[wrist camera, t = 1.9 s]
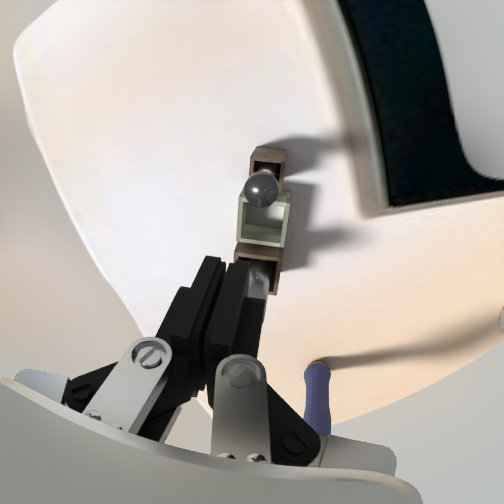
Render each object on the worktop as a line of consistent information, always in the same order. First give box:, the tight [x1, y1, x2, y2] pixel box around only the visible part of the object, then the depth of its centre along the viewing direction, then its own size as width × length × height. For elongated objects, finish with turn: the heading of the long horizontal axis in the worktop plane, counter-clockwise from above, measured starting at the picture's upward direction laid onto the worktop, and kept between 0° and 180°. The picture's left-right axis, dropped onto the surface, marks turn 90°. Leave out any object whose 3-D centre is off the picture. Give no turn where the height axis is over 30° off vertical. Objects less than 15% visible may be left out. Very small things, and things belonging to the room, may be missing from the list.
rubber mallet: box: [303, 361, 331, 436], centre depth 29 cm, size 12×8×30 cm, turn 115°
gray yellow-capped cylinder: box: [245, 257, 273, 323], centre depth 28 cm, size 3×3×11 cm
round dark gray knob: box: [244, 162, 279, 207], centre depth 23 cm, size 2×2×6 cm
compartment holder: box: [234, 147, 291, 296], centre depth 28 cm, size 5×14×4 cm, turn 176°
